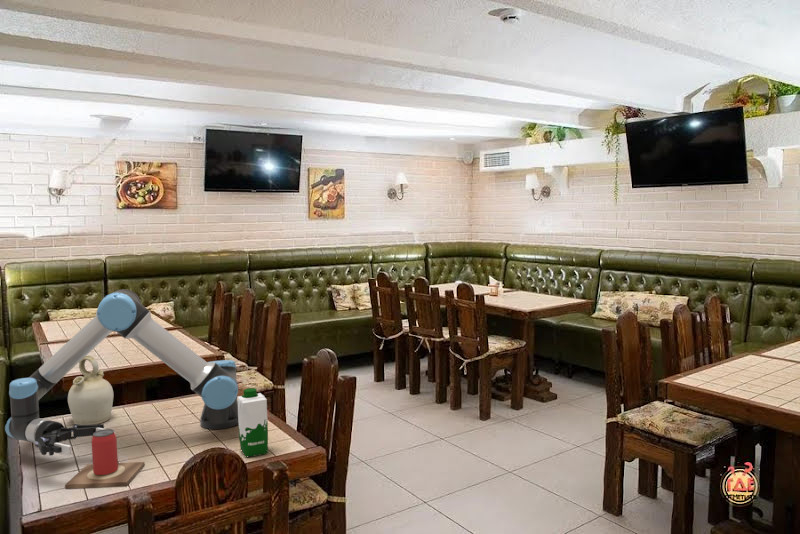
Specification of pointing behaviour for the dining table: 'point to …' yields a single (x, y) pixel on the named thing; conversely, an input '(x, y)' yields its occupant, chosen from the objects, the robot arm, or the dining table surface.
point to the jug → (90, 396)
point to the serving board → (105, 476)
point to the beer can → (104, 452)
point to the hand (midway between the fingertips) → (91, 442)
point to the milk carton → (253, 423)
